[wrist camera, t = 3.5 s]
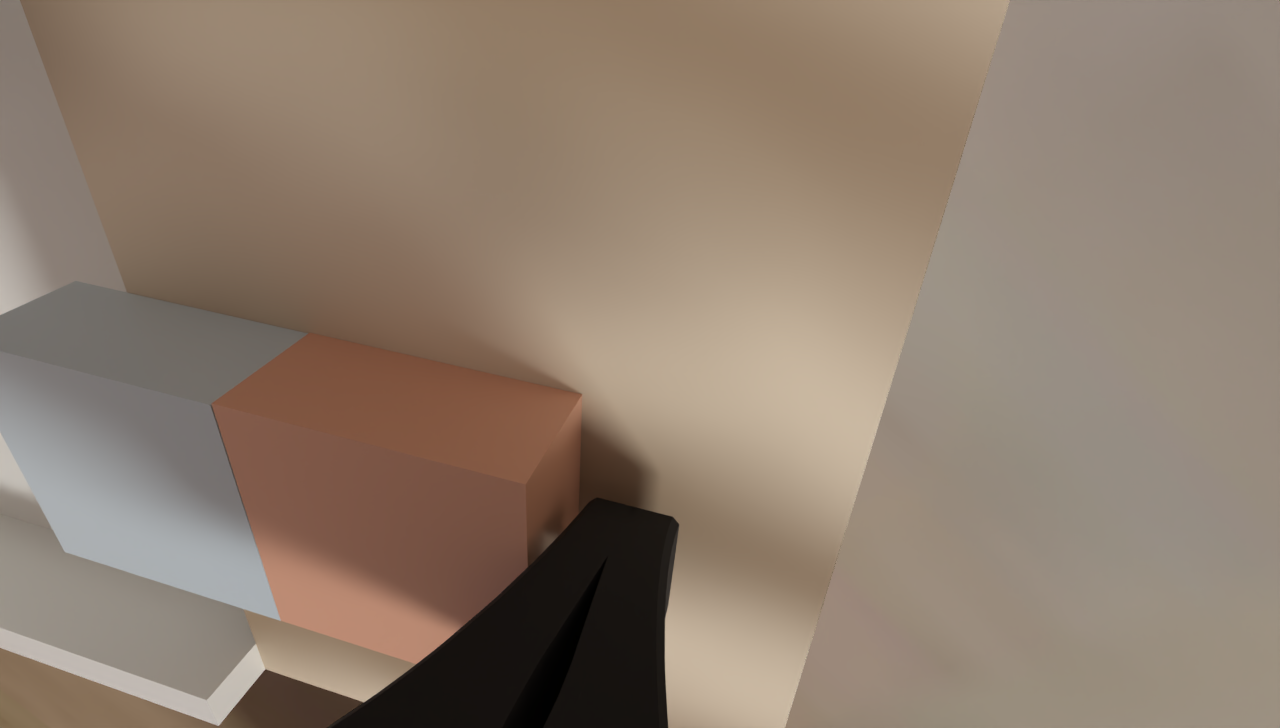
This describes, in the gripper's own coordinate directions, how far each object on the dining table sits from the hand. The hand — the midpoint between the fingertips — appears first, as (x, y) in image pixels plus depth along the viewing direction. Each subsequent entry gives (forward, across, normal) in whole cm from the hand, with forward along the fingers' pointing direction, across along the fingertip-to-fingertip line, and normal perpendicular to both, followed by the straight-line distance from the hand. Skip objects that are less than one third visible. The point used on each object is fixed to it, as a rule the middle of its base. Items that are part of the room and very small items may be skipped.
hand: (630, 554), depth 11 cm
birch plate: (+3, +3, 0) cm, 4 cm away
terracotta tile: (+1, +3, 0) cm, 3 cm away
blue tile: (+1, +8, 0) cm, 8 cm away
